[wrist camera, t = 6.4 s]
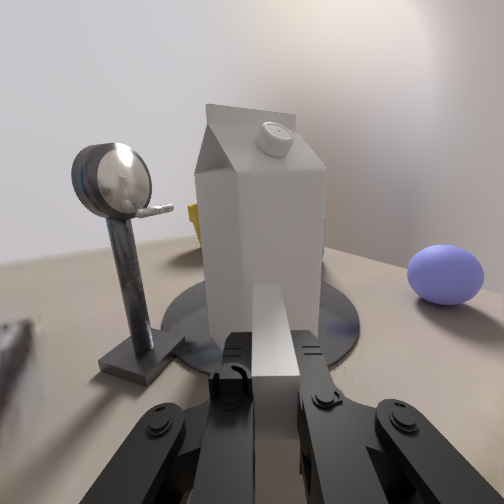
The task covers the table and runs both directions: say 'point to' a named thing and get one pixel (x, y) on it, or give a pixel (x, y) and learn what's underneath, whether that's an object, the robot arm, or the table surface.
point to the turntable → (210, 355)
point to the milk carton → (259, 217)
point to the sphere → (445, 275)
